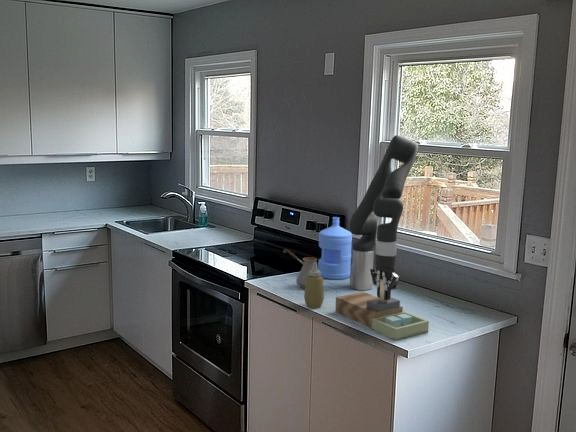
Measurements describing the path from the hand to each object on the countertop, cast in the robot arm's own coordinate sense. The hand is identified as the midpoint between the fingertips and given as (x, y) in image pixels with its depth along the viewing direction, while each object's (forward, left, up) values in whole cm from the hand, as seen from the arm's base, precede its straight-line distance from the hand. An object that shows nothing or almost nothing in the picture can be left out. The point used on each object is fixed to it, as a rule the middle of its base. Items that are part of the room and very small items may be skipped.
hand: (383, 298), depth 220 cm
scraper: (0, 0, -4) cm, 4 cm away
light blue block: (+6, +3, -7) cm, 10 cm away
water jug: (-61, +26, -10) cm, 67 cm away
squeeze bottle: (-29, -10, -10) cm, 32 cm away
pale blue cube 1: (+6, -2, -7) cm, 9 cm away
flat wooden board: (-8, 0, -10) cm, 12 cm away
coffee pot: (-56, +3, -10) cm, 57 cm away
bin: (+9, 0, -10) cm, 13 cm away
